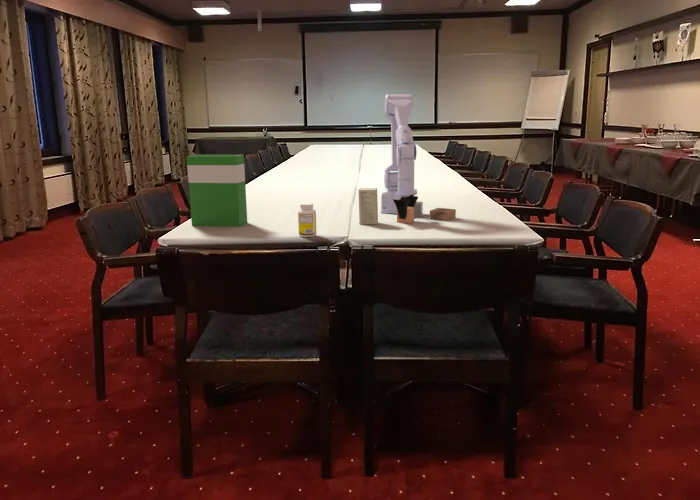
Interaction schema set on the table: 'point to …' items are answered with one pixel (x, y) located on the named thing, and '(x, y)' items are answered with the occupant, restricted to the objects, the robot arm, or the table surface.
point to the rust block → (407, 216)
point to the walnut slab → (442, 214)
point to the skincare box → (368, 206)
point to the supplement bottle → (307, 220)
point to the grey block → (418, 209)
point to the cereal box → (217, 190)
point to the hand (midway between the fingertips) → (405, 217)
